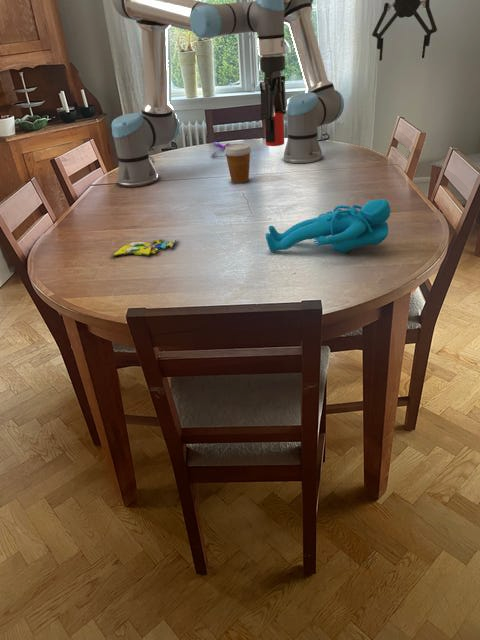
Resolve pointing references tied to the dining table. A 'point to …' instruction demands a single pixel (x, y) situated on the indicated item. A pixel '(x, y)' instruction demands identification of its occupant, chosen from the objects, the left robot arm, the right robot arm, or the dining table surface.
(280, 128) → the can
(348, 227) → the toy
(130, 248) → the toy
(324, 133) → the right robot arm
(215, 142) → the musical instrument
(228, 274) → the dining table surface
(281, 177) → the dining table surface
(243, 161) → the disposable coffee cup
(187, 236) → the dining table surface
